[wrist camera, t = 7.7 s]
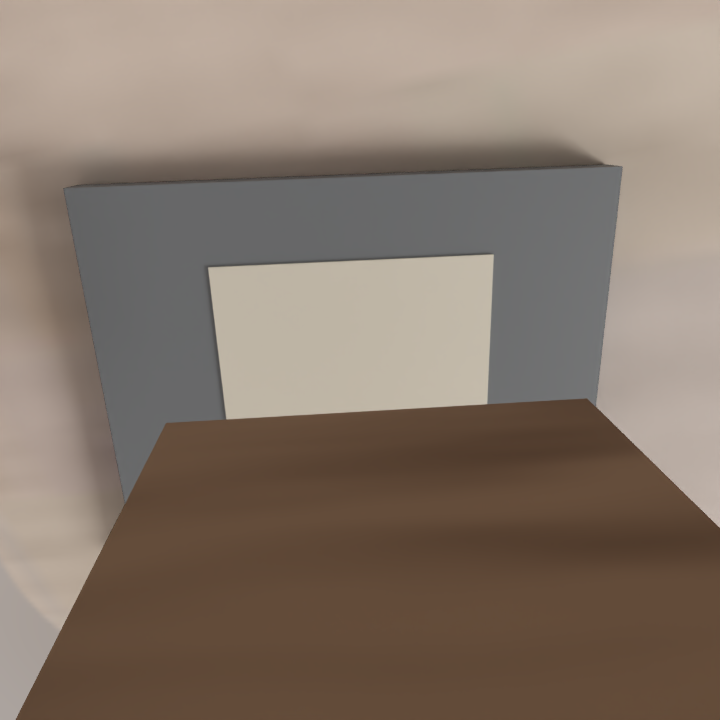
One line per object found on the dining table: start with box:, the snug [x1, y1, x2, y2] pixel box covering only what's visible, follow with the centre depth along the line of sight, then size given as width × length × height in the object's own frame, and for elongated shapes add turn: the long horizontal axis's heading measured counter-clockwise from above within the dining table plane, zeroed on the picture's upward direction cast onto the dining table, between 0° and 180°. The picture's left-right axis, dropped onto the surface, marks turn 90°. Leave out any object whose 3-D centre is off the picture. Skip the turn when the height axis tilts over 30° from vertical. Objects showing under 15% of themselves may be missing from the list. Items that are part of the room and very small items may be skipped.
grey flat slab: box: [63, 165, 622, 503], centre depth 23 cm, size 15×18×1 cm
